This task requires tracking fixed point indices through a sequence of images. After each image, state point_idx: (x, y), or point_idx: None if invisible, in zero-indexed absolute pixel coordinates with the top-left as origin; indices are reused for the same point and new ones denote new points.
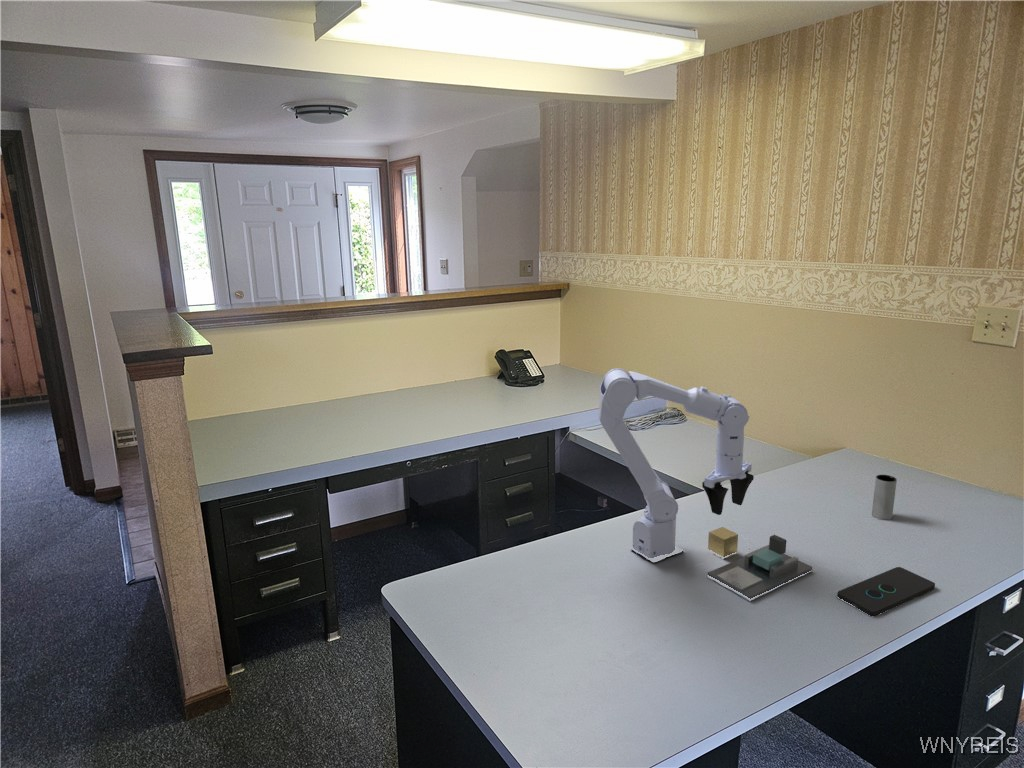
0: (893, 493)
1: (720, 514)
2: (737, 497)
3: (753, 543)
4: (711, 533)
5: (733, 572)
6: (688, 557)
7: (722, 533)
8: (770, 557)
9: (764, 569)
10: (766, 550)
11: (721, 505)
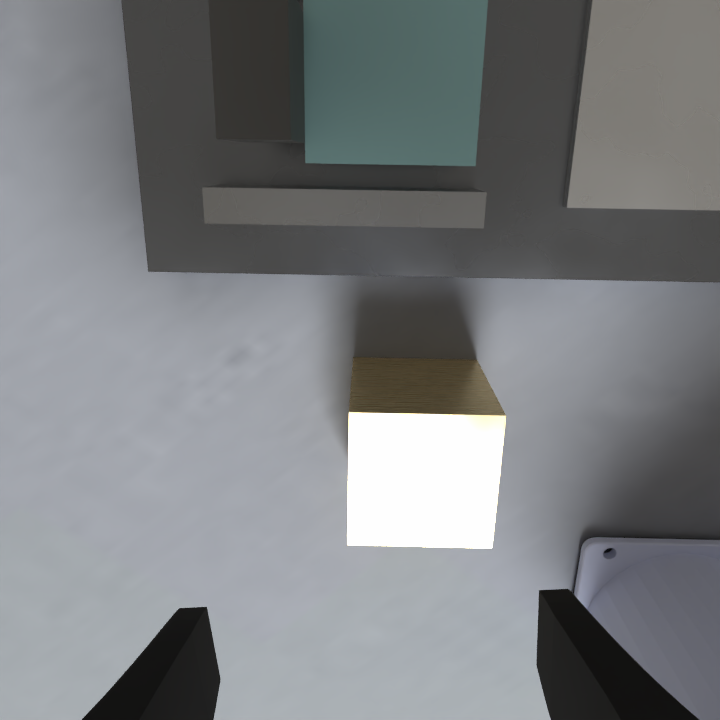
0: None
1: (553, 590)
2: (186, 705)
3: (162, 382)
4: (492, 526)
5: (662, 169)
6: (609, 486)
7: (433, 483)
8: (413, 37)
9: None
10: (340, 139)
11: (625, 668)
